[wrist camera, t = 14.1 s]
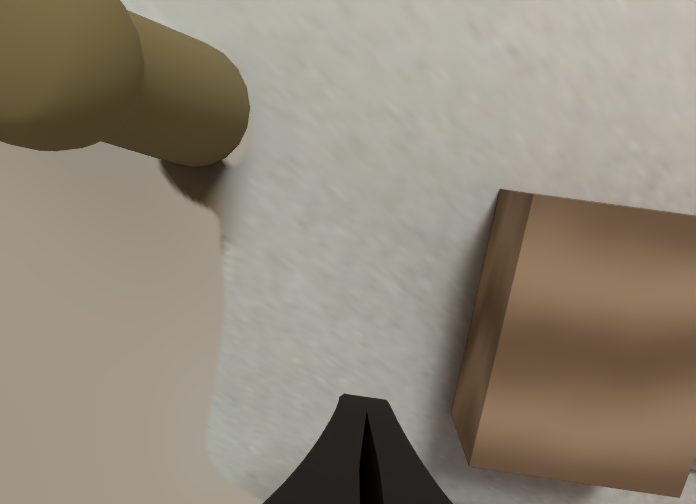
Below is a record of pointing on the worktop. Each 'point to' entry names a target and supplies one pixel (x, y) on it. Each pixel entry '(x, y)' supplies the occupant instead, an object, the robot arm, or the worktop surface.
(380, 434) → the robot arm
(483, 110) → the worktop surface
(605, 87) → the worktop surface
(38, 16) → the olive tall rounded piece
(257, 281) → the worktop surface
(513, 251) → the walnut board
